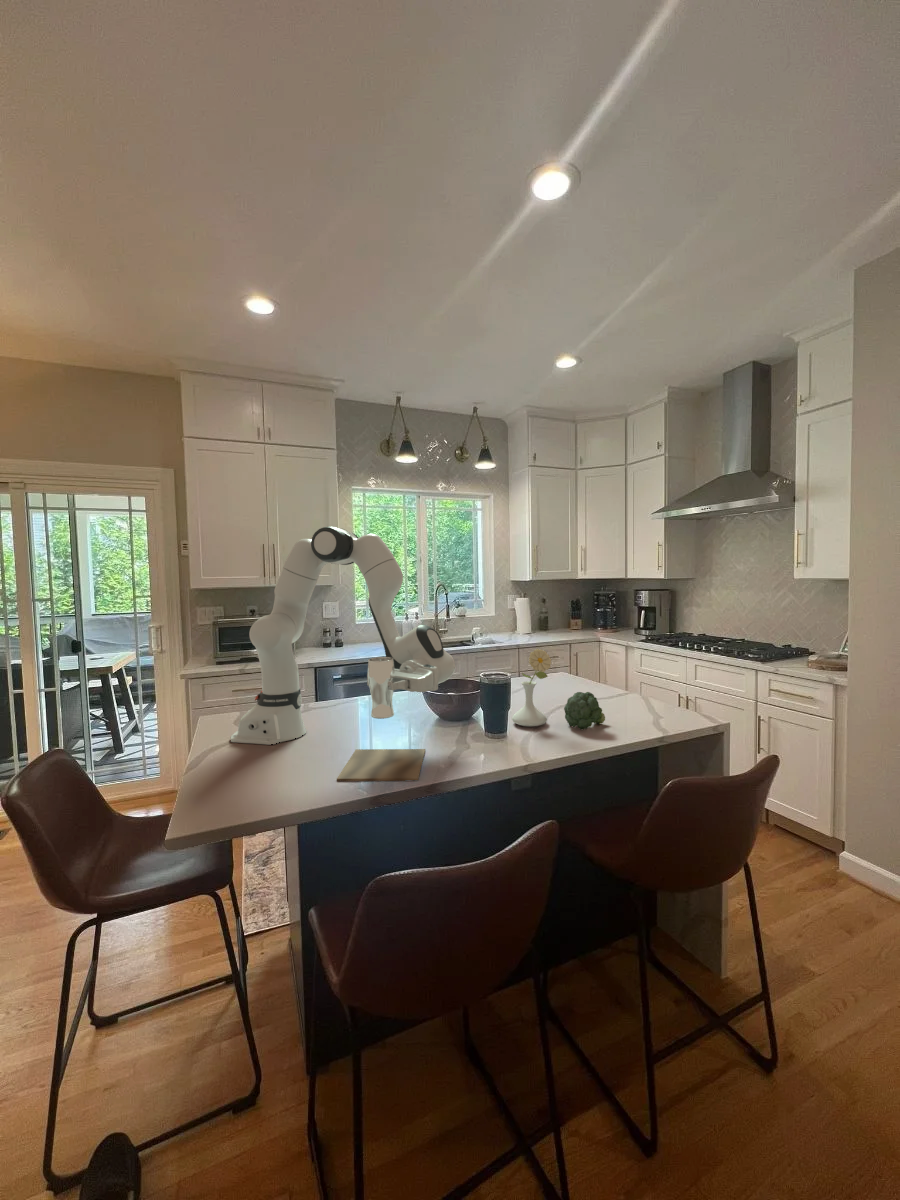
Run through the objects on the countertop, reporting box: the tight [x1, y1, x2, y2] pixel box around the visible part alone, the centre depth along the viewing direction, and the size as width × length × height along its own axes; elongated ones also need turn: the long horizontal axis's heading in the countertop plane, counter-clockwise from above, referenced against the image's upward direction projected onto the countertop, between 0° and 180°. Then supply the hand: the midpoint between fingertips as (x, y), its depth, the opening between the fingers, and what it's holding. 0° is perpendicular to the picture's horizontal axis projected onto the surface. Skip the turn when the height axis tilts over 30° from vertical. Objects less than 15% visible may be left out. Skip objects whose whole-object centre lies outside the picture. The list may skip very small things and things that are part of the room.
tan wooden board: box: [336, 748, 426, 782], centre depth 131 cm, size 20×20×1 cm
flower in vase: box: [511, 648, 552, 727], centre depth 162 cm, size 13×11×25 cm
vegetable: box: [563, 691, 606, 730], centre depth 159 cm, size 12×13×15 cm
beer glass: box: [367, 656, 395, 720], centre depth 130 cm, size 7×7×15 cm
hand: (379, 685), depth 129 cm, fingers closed on beer glass, 6 cm apart
